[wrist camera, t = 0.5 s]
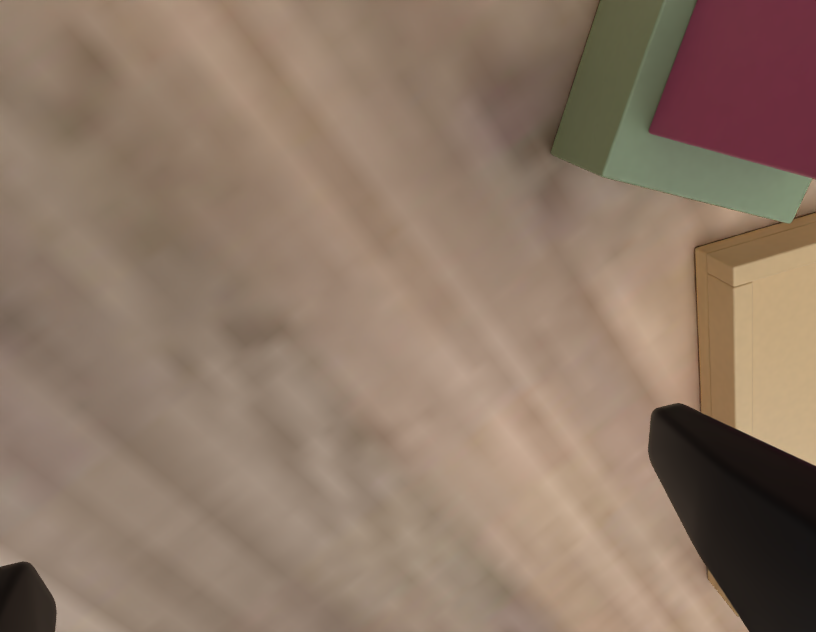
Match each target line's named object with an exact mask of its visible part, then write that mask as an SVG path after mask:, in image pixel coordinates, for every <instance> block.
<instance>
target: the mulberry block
mask: <svg viewBox="0 0 816 632" xmlns="http://www.w3.org/2000/svg"><path fill="white" fill-rule="evenodd" d="M649 133H650V134H653V135H656V136H660V137H664V138H667V139H671V140H674V141H678V142H682V143H685V144H689V145H692V146H696V147H700V148H703V149H707V150H710V151H714V152H718V153H721V154H725V155H729V156H732V157H736V158H739V159H743V160H747V161H750V162H754V163H757V164H761V165H765V166H768V167H772V168H775V169H779V170H783V171H786V172H790V173H794V174H797V175H801V176H805V177H808V178H812V179H816V0H697V2H696V5H695V8H694V10H693V13H692V16H691V19H690V21H689V24H688V27H687V29H686V32H685V35H684V37H683V40H682V43H681V45H680V48H679V51H678V53H677V56H676V59H675V61H674V64H673V67H672V69H671V72H670V75H669V78H668V80H667V83H666V86H665V88H664V91H663V94H662V96H661V99H660V102H659V104H658V107H657V110H656V112H655V115H654V118H653V120H652V123H651V126H650V128H649Z"/></svg>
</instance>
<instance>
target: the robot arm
mask: <svg viewBox="0 0 816 632" xmlns="http://www.w3.org/2000/svg"><path fill="white" fill-rule="evenodd" d="M648 453H649V458H650V461H651V464H652V466H653V468H654V470H655V472H656V474H657V476H658V478H659V480H660V482H661V484H662V485H663V487H664V489H665V491H666V493H667V495H668V497H669V499H670V501H671V503H672V505H673V507H674V509H675V511H676V512H677V514H678V516H679V518H680V520H681V522H682V524H683V526H684V528H685V530H686V532H687V534H688V536H689V538H690V539H691V541H692V543H693V545H694V547H695V549H696V550H697V552H698V554H699V555H700V557H701V559H702V560H703V562H704V563H705V565H706V567H707V568H708V570H709V571H710V573H711V574H712V576H713V577H714V579H715V580H716V582H717V583H718V585H719V586H720V588H721V589H722V591H723V592H724V594H725V595H726V597H727V598H728V600H729V601H730V603H731V604H732V606H733V608H734V609H735V611H736V612H737V614H738V615H739V617H740V618H741V620H742V621H743V623H744V624H745V626H746V627H747V629H748V630H749V632H816V466H815V465H813V464H811V463H808V462H806V461H804V460H802V459H800V458H798V457H796V456H793V455H791V454H789V453H787V452H785V451H783V450H781V449H778V448H776V447H774V446H772V445H770V444H768V443H765V442H763V441H761V440H759V439H757V438H755V437H753V436H750V435H748V434H746V433H744V432H742V431H740V430H738V429H735V428H733V427H731V426H729V425H727V424H725V423H723V422H720V421H718V420H716V419H714V418H712V417H710V416H708V415H705V414H703V413H701V412H699V411H697V410H695V409H692V408H690V407H688V406H686V405H683V404H680V403H677V404H672V405H667V406H663V407H659V408H656V409H655V410H654V411H653V412H652V414H651V421H650V433H649V444H648ZM55 626H56V604H55V601H54V598H53V596H52V594H51V593H50V591H49V590H48V588H47V587H46V585H45V583H44V582H43V580H42V579H41V577H40V576H39V574H38V573H37V571H36V570H35V568H34V567H33V566H32V564H30V563H28V562H18V563H14V564H10V565H6V566H2V567H0V632H55Z"/></svg>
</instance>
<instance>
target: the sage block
mask: <svg viewBox="0 0 816 632" xmlns="http://www.w3.org/2000/svg"><path fill="white" fill-rule="evenodd" d="M696 2H697V0H600V3H599V6H598V9H597V12H596V15H595V18H594V21H593V24H592V27H591V30H590V33H589V36H588V39H587V43H586V46H585V49H584V52H583V55H582V58H581V61H580V64H579V67H578V70H577V73H576V76H575V79H574V82H573V85H572V88H571V92H570V95H569V98H568V101H567V104H566V107H565V110H564V113H563V116H562V119H561V122H560V125H559V128H558V131H557V134H556V138H555V141H554V144H553V147H552V150H551V154H552V155H553V156H556V157H558V158H560V159H562V160H565V161H567V162H569V163H572V164H574V165H576V166H578V167H581V168H583V169H585V170H587V171H590V172H592V173H594V174H597V175H599V176H601V177H604V178H608V179H612V180H616V181H620V182H624V183H628V184H632V185H636V186H640V187H644V188H648V189H652V190H656V191H660V192H664V193H668V194H672V195H676V196H680V197H684V198H688V199H692V200H696V201H700V202H704V203H708V204H712V205H716V206H720V207H724V208H728V209H732V210H736V211H740V212H744V213H748V214H752V215H756V216H760V217H764V218H768V219H772V220H776V221H780V222H784V223H788V224H789V223H791V222H792V221H793V219H794V216H795V214H796V212H797V210H798V208H799V206H800V204H801V201H802V199H803V197H804V195H805V193H806V191H807V189H808V187H809V184H810V182H811V180H812V178H808V177H805V176H801V175H797V174H794V173H790V172H786V171H783V170H779V169H775V168H772V167H768V166H765V165H761V164H757V163H754V162H750V161H747V160H743V159H739V158H736V157H732V156H729V155H725V154H721V153H718V152H714V151H710V150H707V149H703V148H700V147H696V146H692V145H689V144H685V143H682V142H678V141H674V140H671V139H667V138H664V137H660V136H656V135H653V134H650V133H649V128H650V126H651V123H652V120H653V118H654V115H655V112H656V110H657V107H658V104H659V102H660V99H661V96H662V94H663V91H664V88H665V86H666V83H667V80H668V78H669V75H670V72H671V69H672V67H673V64H674V61H675V59H676V56H677V53H678V51H679V48H680V45H681V43H682V40H683V37H684V35H685V32H686V29H687V27H688V24H689V21H690V19H691V16H692V13H693V10H694V8H695V5H696Z"/></svg>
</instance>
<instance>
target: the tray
mask: <svg viewBox="0 0 816 632" xmlns="http://www.w3.org/2000/svg"><path fill="white" fill-rule="evenodd" d="M695 261H696V287H697V312H698V338H699V364H700V389H701V413H703V414H705V415H708V416H710V417H712V418H714V419H716V420H718V421H720V422H723V423H725V424H727V425H729V426H731V427H733V428H735V429H738V430H740V431H742V432H744V433H746V434H748V435H750V436H753V437H755V438H757V439H759V440H761V441H763V442H765V443H768V444H770V445H772V446H774V447H776V448H778V449H781V450H783V451H785V452H787V453H789V454H791V455H793V456H796V457H798V458H800V459H802V460H804V461H806V462H808V463H811V464H813V465H815V466H816V213H813V214H810V215H806V216H803V217H800V218H796V219H793V221H792V222H791V223H789V224H788V223H784V222H782V223H779V224H776V225H772V226H769V227H765V228H762V229H758V230H755V231H752V232H748V233H745V234H741V235H738V236H734V237H731V238H728V239H724V240H721V241H717V242H714V243H710V244H707V245H704V246H700V247H697V248H695ZM708 580H709V581H710V582H711V584H712V585H713V586H714V587H715V589H716V590H718V593H719V594H720V595H721V596H722V598H723V599H724V600H725V601H726V603H727V604H728V605H729V606H730V608H731V609H732V610H733V612H734V613H735V614H736V615H737V616H738V617H739V615H738V614H737V612H736V611H735V609H734V608H733V606H732V604H731V603H730V601H729V600H728V598H727V597H726V595H725V594H724V592H723V591H722V589H721V588H720V586H719V585H718V583H717V582H716V580H715V579H714V577H713V576H712V574H711V573H710V571H709V570H708Z"/></svg>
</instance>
